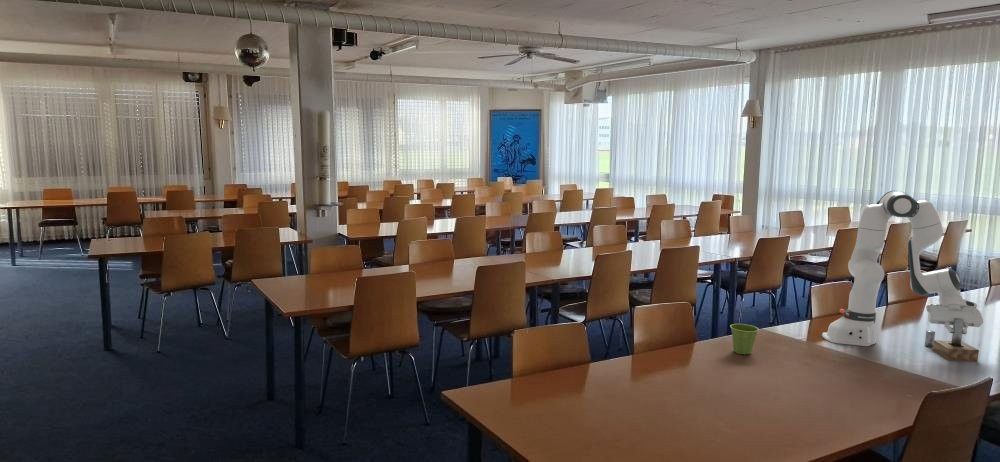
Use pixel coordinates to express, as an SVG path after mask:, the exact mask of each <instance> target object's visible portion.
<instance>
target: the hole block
mask: <svg viewBox="0 0 1000 462" xmlns="http://www.w3.org/2000/svg"><path fill="white" fill-rule="evenodd" d="M951 342H952V340H939V339H938V340H937V339H935V340H934V343H933V347H932V352H934V353H935V354H937V355H938V356H940V357H942V358H943V359H945V360H947V361H958V362H959V361H963V362H964V361H965V362H977V361H979V352H980V350H979V349H978V348H976V347H974V346H972V345H970V344H968V343H966V342H964V341H962V342H961V347H953V346H951Z"/></svg>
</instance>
